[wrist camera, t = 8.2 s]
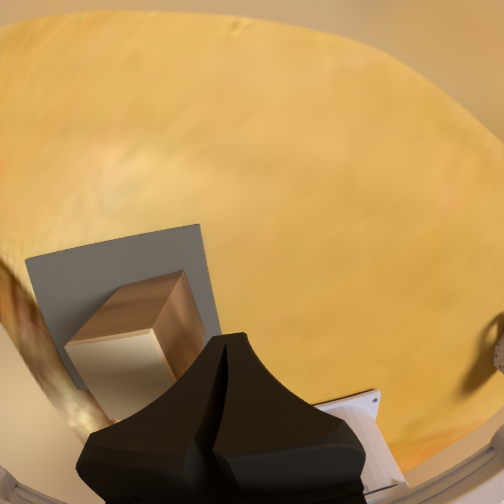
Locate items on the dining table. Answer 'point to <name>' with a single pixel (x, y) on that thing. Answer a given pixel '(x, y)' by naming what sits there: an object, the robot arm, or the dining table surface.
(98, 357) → the walnut block
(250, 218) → the dining table surface
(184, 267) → the mat
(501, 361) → the mug
